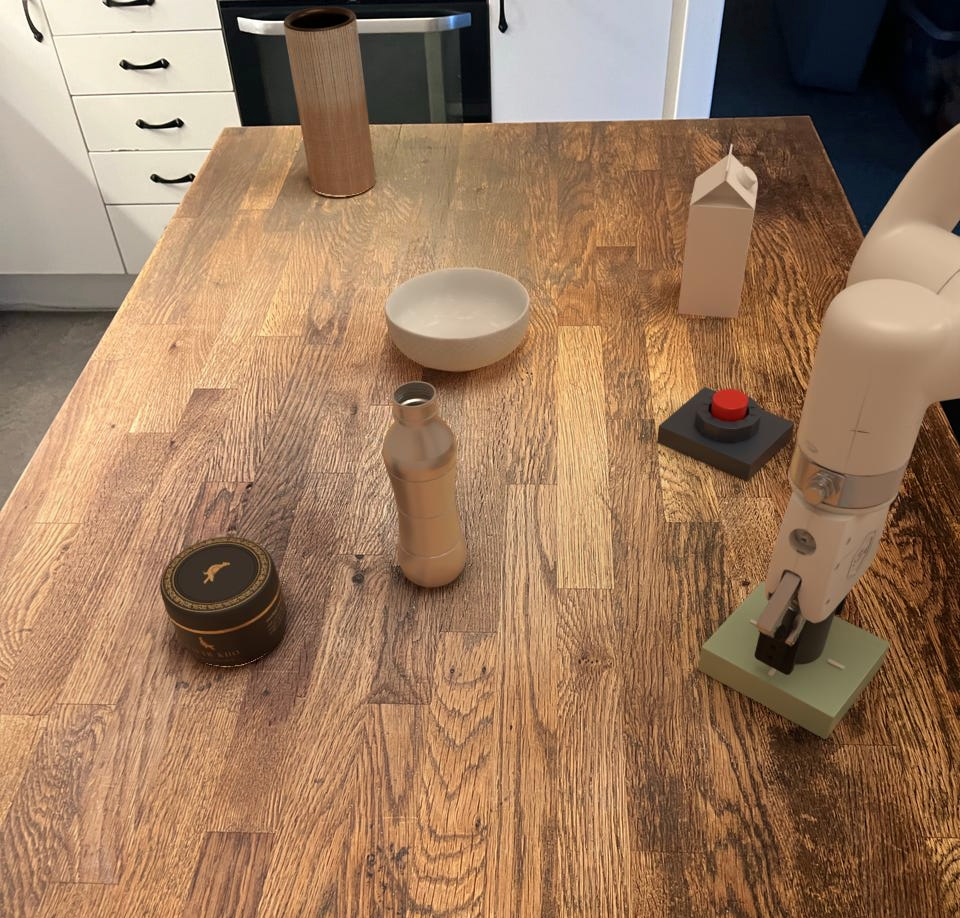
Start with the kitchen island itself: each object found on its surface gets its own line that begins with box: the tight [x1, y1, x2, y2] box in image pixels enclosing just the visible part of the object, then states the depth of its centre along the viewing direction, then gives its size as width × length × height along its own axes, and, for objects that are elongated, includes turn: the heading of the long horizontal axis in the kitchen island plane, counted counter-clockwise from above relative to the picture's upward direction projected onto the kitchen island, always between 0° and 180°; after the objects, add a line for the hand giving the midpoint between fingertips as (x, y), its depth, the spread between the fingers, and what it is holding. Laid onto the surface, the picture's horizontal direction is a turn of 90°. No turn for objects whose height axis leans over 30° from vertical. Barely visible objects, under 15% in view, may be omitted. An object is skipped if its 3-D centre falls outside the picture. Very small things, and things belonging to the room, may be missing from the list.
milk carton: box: [677, 143, 759, 319], centre depth 116 cm, size 7×7×19 cm
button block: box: [656, 386, 795, 483], centre depth 105 cm, size 11×9×4 cm
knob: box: [781, 593, 837, 664], centre depth 80 cm, size 4×4×6 cm
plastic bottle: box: [381, 380, 468, 588], centre depth 87 cm, size 6×7×20 cm
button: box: [711, 388, 749, 422], centre depth 103 cm, size 4×4×2 cm
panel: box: [697, 580, 891, 740], centre depth 84 cm, size 12×10×3 cm
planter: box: [283, 6, 377, 195], centre depth 145 cm, size 10×10×23 cm
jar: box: [159, 536, 287, 666], centre depth 88 cm, size 10×10×8 cm
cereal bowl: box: [384, 266, 531, 373], centre depth 117 cm, size 17×17×7 cm
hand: (798, 634), depth 82 cm, fingers open, 7 cm apart
